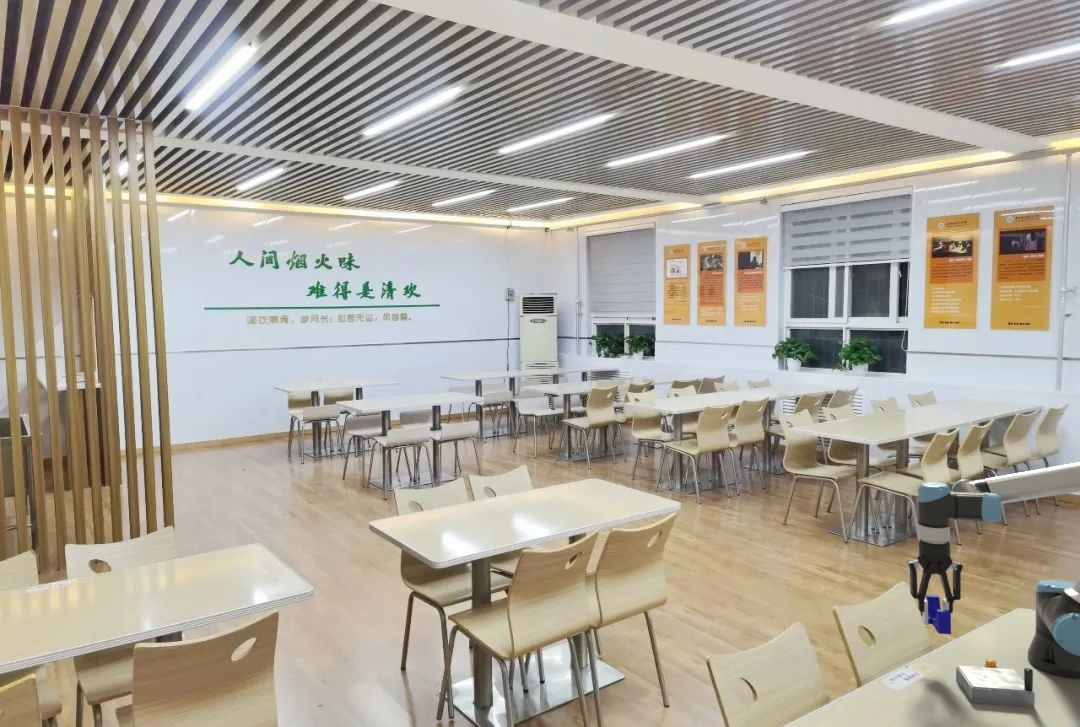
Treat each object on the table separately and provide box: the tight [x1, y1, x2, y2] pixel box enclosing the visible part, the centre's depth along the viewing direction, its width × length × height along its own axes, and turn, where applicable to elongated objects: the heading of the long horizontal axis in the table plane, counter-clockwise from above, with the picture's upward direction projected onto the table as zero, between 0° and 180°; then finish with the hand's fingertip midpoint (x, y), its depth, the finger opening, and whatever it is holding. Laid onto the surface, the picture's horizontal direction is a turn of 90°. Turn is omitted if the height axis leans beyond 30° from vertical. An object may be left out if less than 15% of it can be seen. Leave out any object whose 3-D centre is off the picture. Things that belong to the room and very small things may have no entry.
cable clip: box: [920, 594, 952, 635], centre depth 200 cm, size 12×4×6 cm, turn 166°
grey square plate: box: [955, 665, 1036, 708], centre depth 187 cm, size 14×12×9 cm
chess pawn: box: [982, 658, 999, 668], centre depth 198 cm, size 3×3×4 cm
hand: (935, 623), depth 200 cm, fingers closed on cable clip, 4 cm apart
